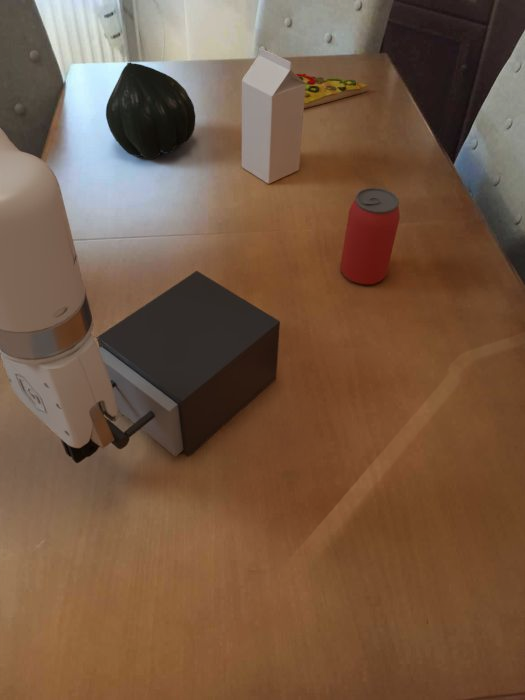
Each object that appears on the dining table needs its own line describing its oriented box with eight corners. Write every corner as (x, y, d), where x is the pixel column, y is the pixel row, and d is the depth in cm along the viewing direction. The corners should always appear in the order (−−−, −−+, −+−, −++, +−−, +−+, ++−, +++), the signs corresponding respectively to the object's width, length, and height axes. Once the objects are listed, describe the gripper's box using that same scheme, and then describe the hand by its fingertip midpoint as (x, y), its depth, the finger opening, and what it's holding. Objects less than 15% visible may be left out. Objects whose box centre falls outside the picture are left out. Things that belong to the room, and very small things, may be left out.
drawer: (139, 488, 60) (128, 444, 54) (68, 426, 65) (52, 379, 59) (260, 382, 69) (261, 335, 64) (190, 335, 74) (186, 288, 69)
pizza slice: (264, 81, 128) (264, 66, 126) (357, 76, 131) (359, 62, 128) (278, 114, 117) (279, 99, 115) (379, 108, 120) (381, 93, 118)
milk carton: (268, 185, 100) (273, 68, 86) (241, 167, 103) (241, 53, 90) (299, 171, 103) (308, 56, 89) (271, 154, 107) (276, 42, 93)
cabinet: (188, 457, 63) (182, 401, 56) (111, 395, 69) (96, 337, 62) (276, 379, 71) (280, 321, 64) (200, 328, 76) (196, 270, 69)
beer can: (331, 263, 86) (342, 190, 77) (371, 253, 88) (385, 181, 79) (354, 291, 82) (367, 218, 73) (395, 280, 84) (413, 207, 75)
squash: (217, 130, 101) (181, 41, 98) (136, 157, 95) (96, 63, 92) (191, 154, 114) (158, 76, 111) (119, 179, 108) (83, 97, 105)
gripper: (-57, 294, 47) (9, 430, 60) (56, 395, 40) (102, 523, 54) (26, 251, 51) (71, 388, 64) (141, 337, 44) (164, 470, 58)
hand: (85, 449), depth 59 cm, fingers closed
